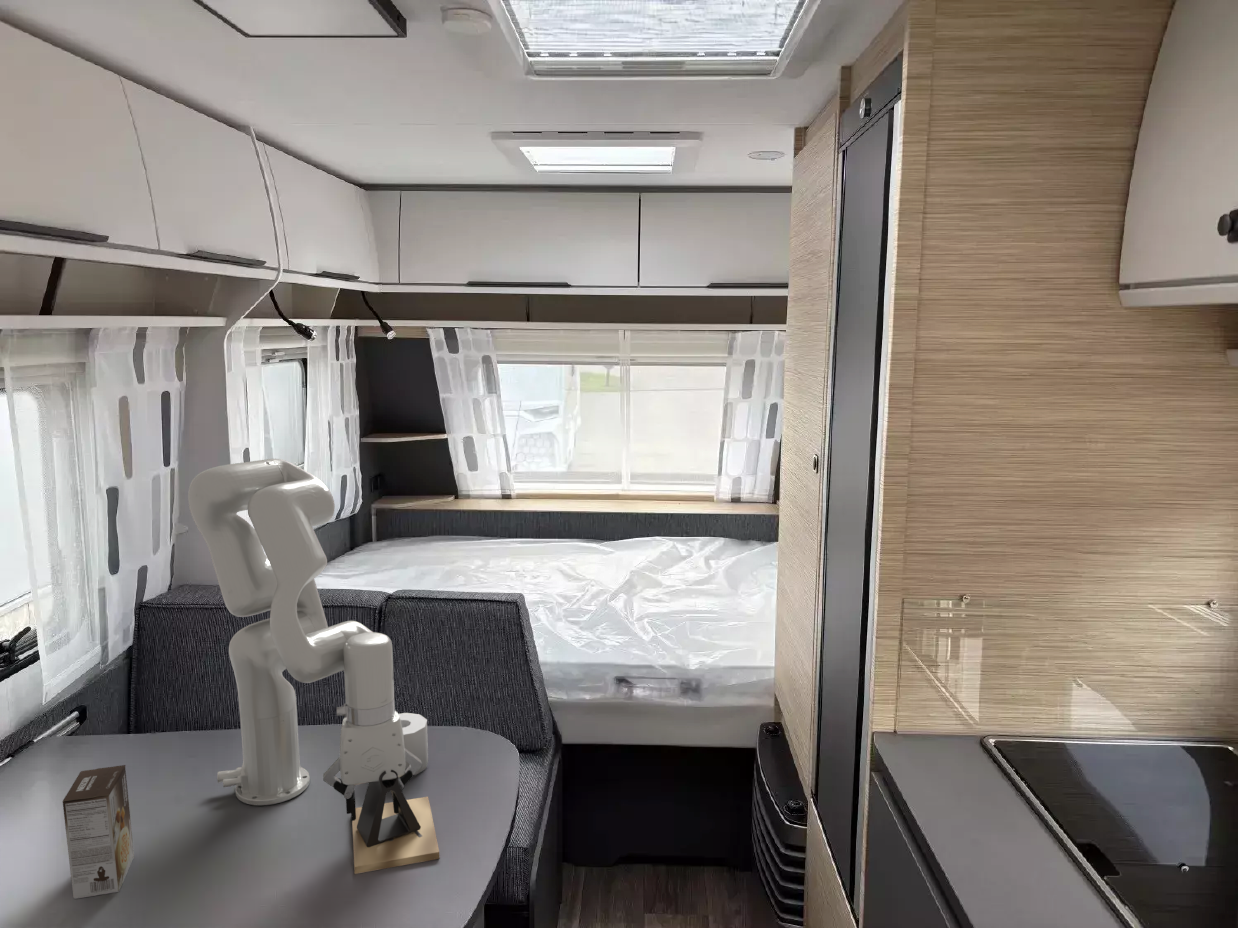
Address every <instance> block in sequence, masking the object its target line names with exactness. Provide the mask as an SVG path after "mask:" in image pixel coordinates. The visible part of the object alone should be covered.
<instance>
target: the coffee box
mask: <svg viewBox="0 0 1238 928" xmlns="http://www.w3.org/2000/svg"><path fill="white" fill-rule="evenodd" d="M126 770H127V769H126V764H123V765H115V766H108V767H98V768H95V769H87V770H81V771H80V772H79V773H78V774H77V777H76V778H75V780H74V782H73V783H72V784H71V785H72V786H71V787H70V788H69V790H68V791H67V793H66V795H65V796H64V798H63V799H62V808H63V809H62V810H63V816H64V817H63V819H64V826H65V834H66V835H65V836H66V843H67V844H66V845H67V851H68V852H67V855H68V862H69V870H70V871H69V872H70V881H71V888H72V896H73V899H75V900H77V899H81V898H88V897H95V896H100V895H101V896H102V895H106V894H113V893H118V892H119V893H120V891H121V889H122V886H123V884H124V882H125V879H126V876H127V874H128V872H129V869H130V868H131V865H132V862H133V860H134V858H135V853H134V844H133V843H134V842H133V833H132V832H133V831H132V821H131V810H130V802H129V801H130V799H129V791H128V789H129V788H128V780H127V772H126Z"/></svg>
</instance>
